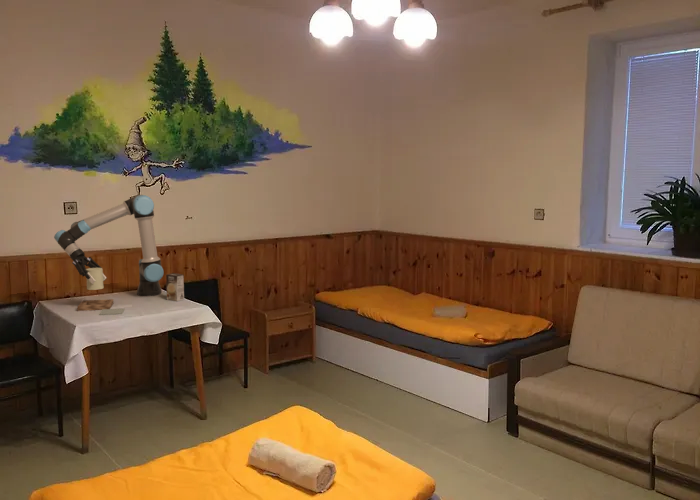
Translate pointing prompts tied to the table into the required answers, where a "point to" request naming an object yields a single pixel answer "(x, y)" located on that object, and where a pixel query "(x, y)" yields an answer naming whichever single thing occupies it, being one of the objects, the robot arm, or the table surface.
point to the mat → (111, 311)
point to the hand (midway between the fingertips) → (99, 280)
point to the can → (97, 275)
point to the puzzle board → (95, 305)
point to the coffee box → (175, 286)
